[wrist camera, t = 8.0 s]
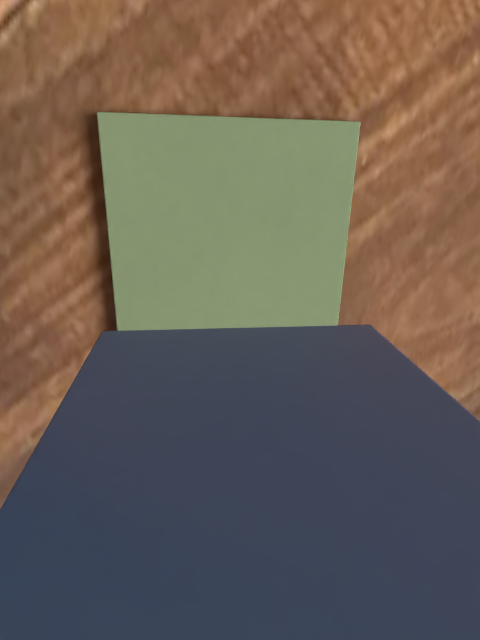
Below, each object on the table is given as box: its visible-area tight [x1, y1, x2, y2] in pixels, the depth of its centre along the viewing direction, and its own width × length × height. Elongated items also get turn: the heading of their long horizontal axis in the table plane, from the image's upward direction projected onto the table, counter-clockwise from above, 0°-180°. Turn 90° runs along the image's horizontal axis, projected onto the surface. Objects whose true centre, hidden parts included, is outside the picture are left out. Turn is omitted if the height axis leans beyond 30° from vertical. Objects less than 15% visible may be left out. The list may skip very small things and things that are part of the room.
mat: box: [97, 112, 360, 331], centre depth 17 cm, size 10×9×1 cm
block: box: [0, 325, 480, 640], centre depth 5 cm, size 5×5×6 cm
